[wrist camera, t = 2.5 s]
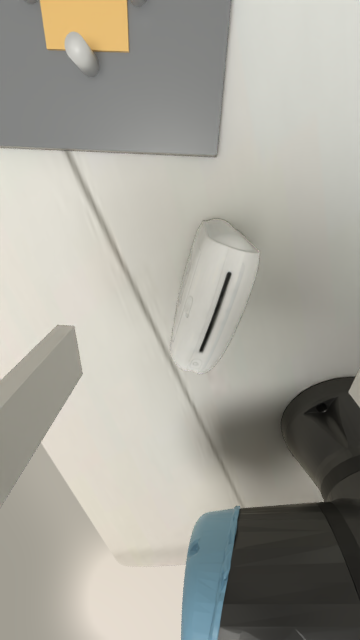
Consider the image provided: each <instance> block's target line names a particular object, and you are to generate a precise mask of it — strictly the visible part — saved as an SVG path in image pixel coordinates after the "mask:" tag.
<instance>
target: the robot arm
mask: <svg viewBox="0 0 360 640" xmlns="http://www.w3.org/2000/svg"><path fill="white" fill-rule="evenodd" d="M82 374H83V373H82V367H81V361H80V356H79V350H78V344H77V338H76V333H75V327H74V326H68V325H57V326H56V327H55V328H54V329H53V330H52V331H51V332H50V333H49V334H48V335H47V336H46V337H45V338H44V339H43V340H42V341H41V342H40V343H39V344H37V345H36V346H35V347H34V348H33V349H32V350H31V351H30V352H29V353H28V354H27V355H26V356H25V357H24V358H23V359H22V360H21V361H20V362H19V363H18V364H17V365H16V366H15V367H14V368H13V369H12V370H11V371H10V372H9V373H8V374H7V375H6V376H5V377H4V378H3V379H2V380H1V381H0V508H1V506H2V505H3V503H4V501H5V500H6V498H7V497H8V495H9V493H10V492H11V490H12V488H13V487H14V485H15V484H16V482H17V480H18V478H19V477H20V475H21V474H22V472H23V471H24V469H25V467H26V466H27V464H28V462H29V461H30V459H31V457H32V456H33V454H34V452H35V451H36V449H37V448H38V446H39V444H40V443H41V441H42V440H43V438H44V436H45V435H46V433H47V431H48V430H49V428H50V426H51V425H52V423H53V422H54V420H55V418H56V417H57V415H58V413H59V412H60V410H61V409H62V407H63V405H64V404H65V402H66V400H67V399H68V397H69V395H70V394H71V392H72V391H73V389H74V387H75V386H76V384H77V382H78V381H79V379H80V378H81V376H82ZM281 429H282V433H283V436H284V439H285V442H286V444H287V447H288V449H289V450H290V452H291V453H292V455H293V456H294V457H295V458H296V459H297V461H298V462H299V463H300V465H301V466H302V467H303V469H304V470H305V471H306V473H307V474H308V475H309V477H310V478H311V479H312V480H313V482H314V483H315V484H316V486H317V487H318V488H319V490H320V492H321V494H322V497H323V499H324V502H319V503H303V504H290V505H278V506H265V507H253V508H241V509H240V506H236V507H235V508H234V509H228V510H221V511H213V512H208V513H205V514H204V515H202V516H201V517H200V518H199V519H198V521H197V522H196V524H195V526H194V529H193V531H192V535H191V539H190V543H189V548H188V554H187V561H186V569H185V578H184V588H183V602H182V624H181V626H182V627H181V640H360V369H359V371H358V373H357V375H356V377H355V378H341V379H335V380H330V381H327V382H323V383H320V384H318V385H315V386H313V387H311V388H309V389H307V390H306V391H304V392H303V393H301V394H300V395H299V396H297V397H296V398H295V399H294V400H293V401H292V402H291V403H290V404H289V405H288V407H287V408H286V410H285V412H284V414H283V417H282V421H281Z"/></svg>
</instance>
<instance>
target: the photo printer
mask: <svg viewBox="0 0 360 640" xmlns="http://www.w3.org/2000/svg"><path fill="white" fill-rule="evenodd" d="M259 258H260V251H259V250H258V249H257V248H256V247H255V246H254V245H253V244H252V243H251V242H250V241H249V240H248V239H247V238H246V237H245V236H244V235H242V234H241V233H240V232H239V231H238V230H235V229H234V228H233V227H232V226H231V225H230V224H229V223H228V222H227V221H225V220H222V219H211V220H209V221H203V222H202V223H201V225H200V227H199V229H198V231H197V234H196V237H195V239H194V243H193V246H192V249H191V252H190V255H189V258H188V262H187V265H186V269H185V272H184V276H183V280H182V283H181V287H180V291H179V295H178V301H177V307H176V313H175V319H174V325H173V329H172V337H171V345H170V352H171V357H172V359H173V361H174V363H175V364H176V365H177V366H178V367H179V368H181V369H182V370H184V371H193V372H195V373H197V374H203V373H206V372H208V371H210V370H211V369H212V368H213V367H214V366H215V365H216V364H217V362H218V361H219V360H220V359H221V357H222V355H223V354H224V352H225V350H226V348H227V347H228V345H229V343H230V341H231V339H232V337H233V335H234V333H235V330H236V328H237V326H238V324H239V321H240V319H241V317H242V314H243V312H244V309H245V307H246V304H247V302H248V299H249V296H250V293H251V290H252V287H253V284H254V281H255V278H256V274H257V270H258V265H259Z"/></svg>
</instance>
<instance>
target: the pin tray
mask: <svg viewBox="0 0 360 640" xmlns="http://www.w3.org/2000/svg"><path fill="white" fill-rule="evenodd" d="M230 8H231V0H0V148H18V149H41V150H64V151H87V152H110V153H133V154H156V155H179V156H202V157H216V156H217V149H218V138H219V127H220V116H221V105H222V94H223V84H224V73H225V62H226V51H227V40H228V29H229V19H230Z"/></svg>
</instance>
